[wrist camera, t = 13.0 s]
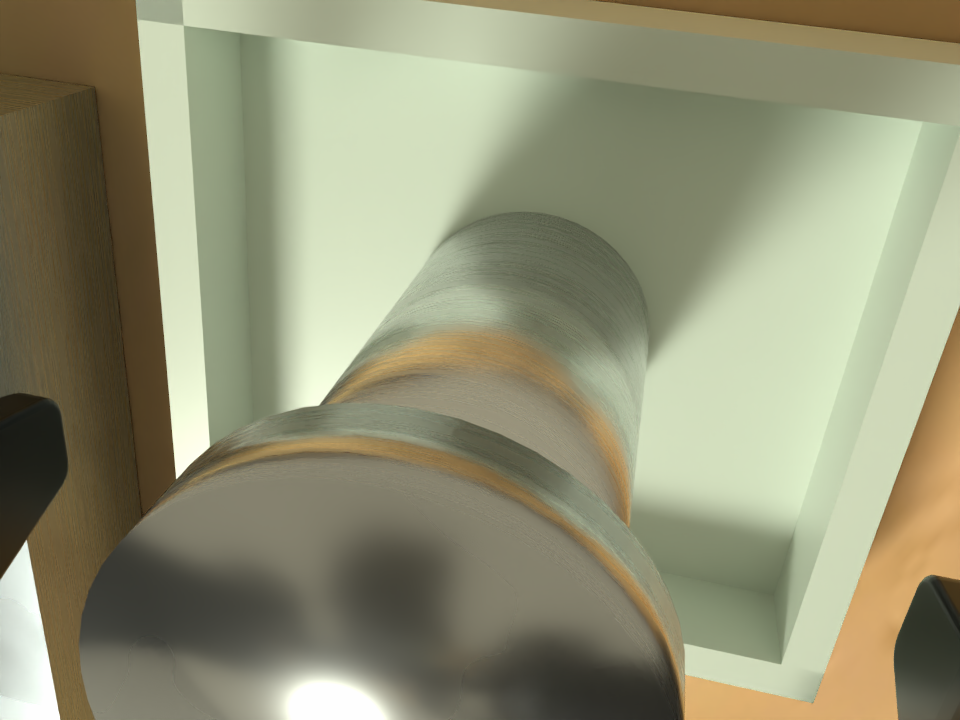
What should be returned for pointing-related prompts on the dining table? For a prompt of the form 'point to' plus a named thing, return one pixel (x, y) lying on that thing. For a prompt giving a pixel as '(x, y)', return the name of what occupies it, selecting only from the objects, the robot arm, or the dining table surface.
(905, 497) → the dining table surface
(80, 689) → the metallic box with opening
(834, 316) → the tray
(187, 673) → the pin
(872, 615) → the dining table surface
